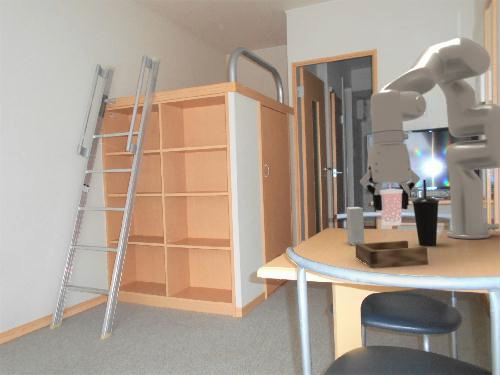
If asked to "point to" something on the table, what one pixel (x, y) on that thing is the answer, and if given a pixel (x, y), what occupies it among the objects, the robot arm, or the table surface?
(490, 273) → the table surface
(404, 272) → the table surface
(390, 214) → the beverage cup
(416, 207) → the drinking cup
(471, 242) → the table surface
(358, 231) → the skincare box
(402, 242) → the dark wooden tray
